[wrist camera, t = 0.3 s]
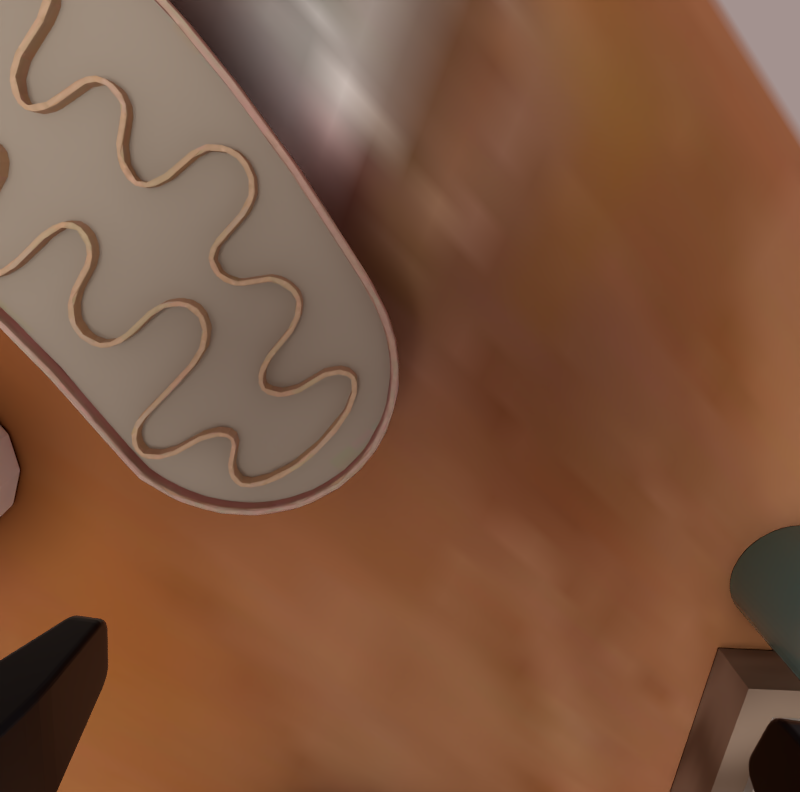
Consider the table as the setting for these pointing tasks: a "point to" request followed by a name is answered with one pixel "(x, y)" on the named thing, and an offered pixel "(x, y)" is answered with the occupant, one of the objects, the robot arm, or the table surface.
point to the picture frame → (735, 719)
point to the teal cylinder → (772, 592)
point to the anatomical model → (180, 263)
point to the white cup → (7, 472)
